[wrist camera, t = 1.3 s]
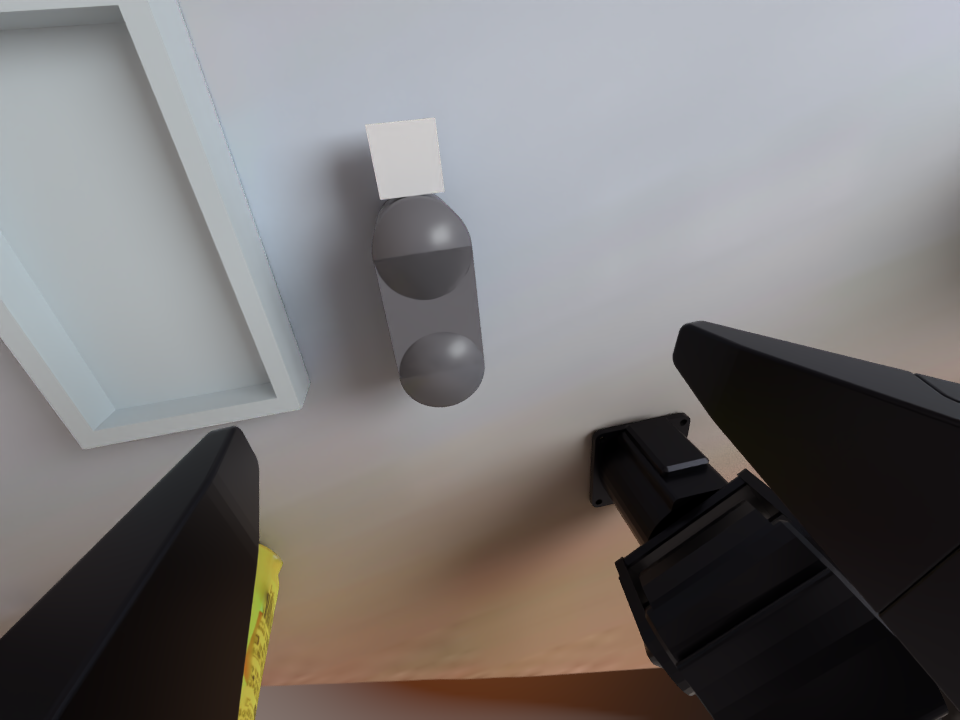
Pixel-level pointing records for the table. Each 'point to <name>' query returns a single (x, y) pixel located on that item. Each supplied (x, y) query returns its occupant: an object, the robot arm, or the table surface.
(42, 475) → the table surface
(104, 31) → the dock tray
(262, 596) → the bottle
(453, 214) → the plug
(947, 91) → the table surface
